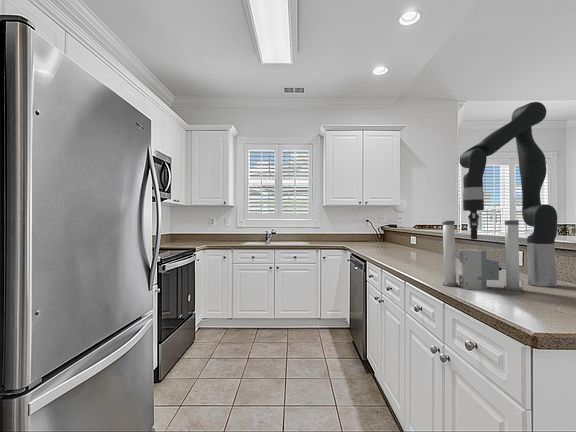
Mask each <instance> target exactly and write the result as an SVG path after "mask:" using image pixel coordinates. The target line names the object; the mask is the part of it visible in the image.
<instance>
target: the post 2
mask: <svg viewBox="0 0 576 432" xmlns="http://www.w3.org/2000/svg"><path fill="white" fill-rule="evenodd" d="M504 239H505V241H504V242H505V243H504V244H505V248H504V249H505V252H504V253H505V285H504V286H503V290H505V291H509V292H522V291H523V287H522V286H520V243H519V242H520V240H519V219H518V220H517V219H516V220H515V219H512V220H511V219H510V220H509V219H507V220H504Z"/></svg>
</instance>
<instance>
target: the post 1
mask: <svg viewBox="0 0 576 432" xmlns="http://www.w3.org/2000/svg"><path fill="white" fill-rule="evenodd" d="M455 237H456V236H455V220H442V239H443V240H442V241H443V242H442V245H443V248H442V249H443V271H444V273H443V276H444V281H443V282H442V286H444V287H449V288H451V287H452V288H453V287H455V288H456V287H459V282H457V265H456V240H455V239H456V238H455Z"/></svg>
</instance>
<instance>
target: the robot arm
mask: <svg viewBox="0 0 576 432" xmlns="http://www.w3.org/2000/svg"><path fill="white" fill-rule="evenodd" d="M546 115H547V108H546V106H545V105H544V104H543V103H542V102H540V101H532V102H528V103H526V104H524V105H521V106H519V107H517V108H515V110H514V111H513V112H512V114H511V121H509V122H508V123H506V124H504V125H502V126H501V127H500V128H497V129H496V130H494V131H493V132H491V133H490V134H489V135H487V136H486V137H484V138H483V139H481V141H480V142H478V143H477V144H475V145H473V146H472V147H470V148H468V149H467V150H465V151H464V152H463V153H462V154H461V155H460V156H459V164H460V166H461V167H462V168H464V169H468V172H466V174H464V175H463V180H462V181H463V182H462V183H463V185H462V186H463V190H462V191H463V192H462V210H463V211H465V212H470V213H469V215H468V216H467V219H468V226H469V229H470V239H471V240H478V229H479V224H480V223H479V222H480V214H478V212H479V211H484V209H485V194H484V193H485V192H484V179H483V177H484V174H485V170H486V166H487V157H489V156H491V155H494V154H495V153H496V152H498V151H499V150H500V149H502V148H503V147H504V146H505V145H506V144H508V143H509V142H510V141H512V140H513V139H515V143H516V150H517V157H518V169H519V177H520V183H521V185H520V188H521V195H522V196H521V198H522V199H521V205H522V206H521V215H522V216H521V217H522V220H523V221H524V223H525V224H526V225H527V226H529V227H533V231H532V233H531V234H530V235H528V236H527V237H526V245H527V246H526V249H527V250H526V254H527V257H526V258H527V284H528V285H531V286H535V287H536V286H537V287H558V282H557V281H558V280H557V277H558V276H557V262H556V253H555V250H556V249H555V248H556V247H555V241H556V238H557V235H558V213H557V210H556V208H555V207H554V206H553V205H550V204H547V203H546V204H542V201H541V192H542V191H541V190H542V187H543V184H544V181H545V179H546V177H547V162H546V161H547V160H546V156H545V154H544V152H543V150H542V149H541V148H540V146H539V145H538V144H537V143H536V142H535V140H534V136H533V129H532V127H533V126H536V125H537V124H540V123H541V122H542V121H544V120H545V118H546Z"/></svg>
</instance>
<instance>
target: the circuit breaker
mask: <svg viewBox="0 0 576 432" xmlns="http://www.w3.org/2000/svg"><path fill="white" fill-rule="evenodd" d="M457 254H458V255H457V257H458V261H459V263H460V273H458V287H461V288H462V289H463V290H466V289H467V290H487V287H488V286H487V285H488V284H487V281H500V273H499V271H503V270H502V269H503V268H502V267H500V265H499V260H497V259H492V258H487V251H486V250H482V249H458V253H457Z"/></svg>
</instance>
